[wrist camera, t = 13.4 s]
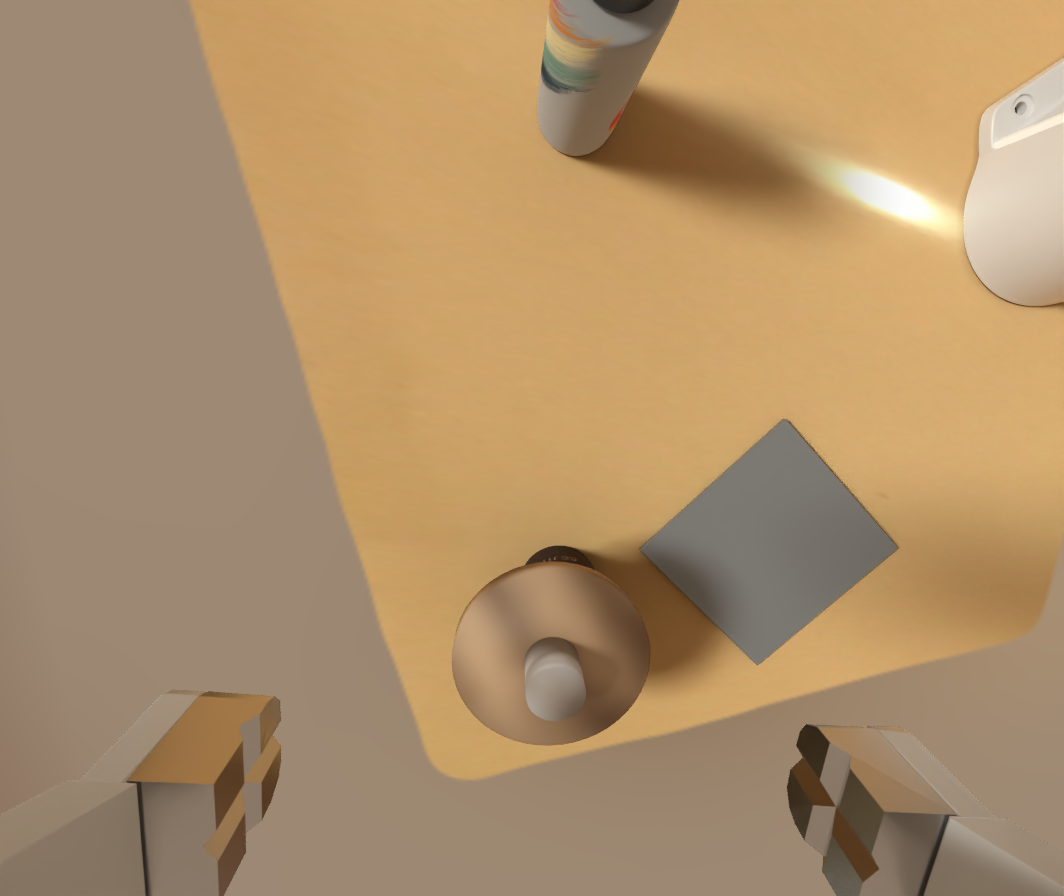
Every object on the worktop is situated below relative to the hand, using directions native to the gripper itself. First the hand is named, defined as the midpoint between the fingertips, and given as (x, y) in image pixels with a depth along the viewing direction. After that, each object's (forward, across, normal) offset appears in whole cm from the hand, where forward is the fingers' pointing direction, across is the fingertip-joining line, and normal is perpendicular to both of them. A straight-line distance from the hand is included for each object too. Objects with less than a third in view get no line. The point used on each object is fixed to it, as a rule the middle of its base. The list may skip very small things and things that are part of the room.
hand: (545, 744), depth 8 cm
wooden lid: (+24, -4, +15) cm, 28 cm away
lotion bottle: (+34, -2, -22) cm, 41 cm away
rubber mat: (+34, -23, +10) cm, 42 cm away
